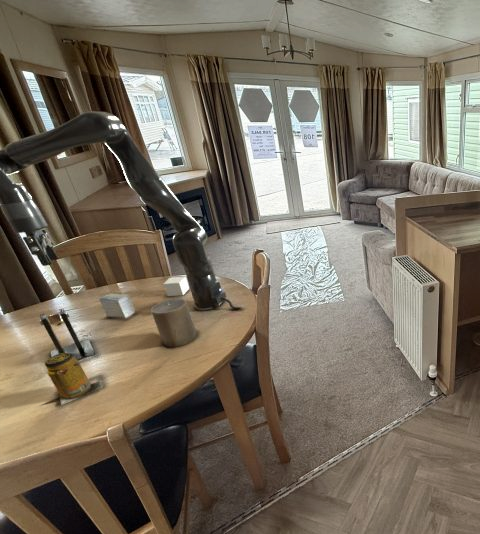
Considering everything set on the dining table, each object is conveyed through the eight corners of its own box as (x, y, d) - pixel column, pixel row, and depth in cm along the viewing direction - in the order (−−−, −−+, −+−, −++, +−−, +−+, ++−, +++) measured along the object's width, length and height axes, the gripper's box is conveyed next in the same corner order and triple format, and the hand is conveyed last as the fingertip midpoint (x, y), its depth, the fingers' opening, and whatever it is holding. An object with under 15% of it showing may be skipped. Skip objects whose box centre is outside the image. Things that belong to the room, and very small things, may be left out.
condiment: (58, 392, 95) (39, 358, 90) (99, 376, 101) (82, 343, 96) (61, 405, 91) (41, 371, 86) (103, 388, 97) (86, 354, 92)
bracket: (51, 354, 109) (28, 312, 103) (89, 341, 116) (70, 301, 109) (56, 371, 102) (31, 327, 96) (96, 356, 109) (76, 315, 102)
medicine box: (137, 314, 132) (129, 294, 128) (126, 320, 128) (118, 300, 124) (118, 312, 132) (110, 293, 129) (107, 318, 128) (98, 298, 125)
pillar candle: (202, 335, 120) (191, 299, 114) (172, 351, 112) (158, 312, 106) (187, 327, 124) (175, 292, 118) (157, 341, 116) (142, 304, 110)
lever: (53, 328, 111) (48, 318, 111) (68, 324, 114) (63, 314, 113) (48, 326, 101) (43, 315, 101) (65, 321, 104) (60, 310, 103)
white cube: (189, 288, 151) (185, 276, 149) (183, 295, 146) (179, 282, 144) (173, 289, 150) (169, 277, 148) (167, 296, 145) (163, 283, 142)
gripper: (34, 216, 106) (61, 263, 112) (46, 210, 117) (70, 254, 123) (-1, 221, 102) (29, 270, 108) (14, 215, 112) (41, 260, 119)
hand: (51, 262), depth 115 cm, fingers open, 8 cm apart
